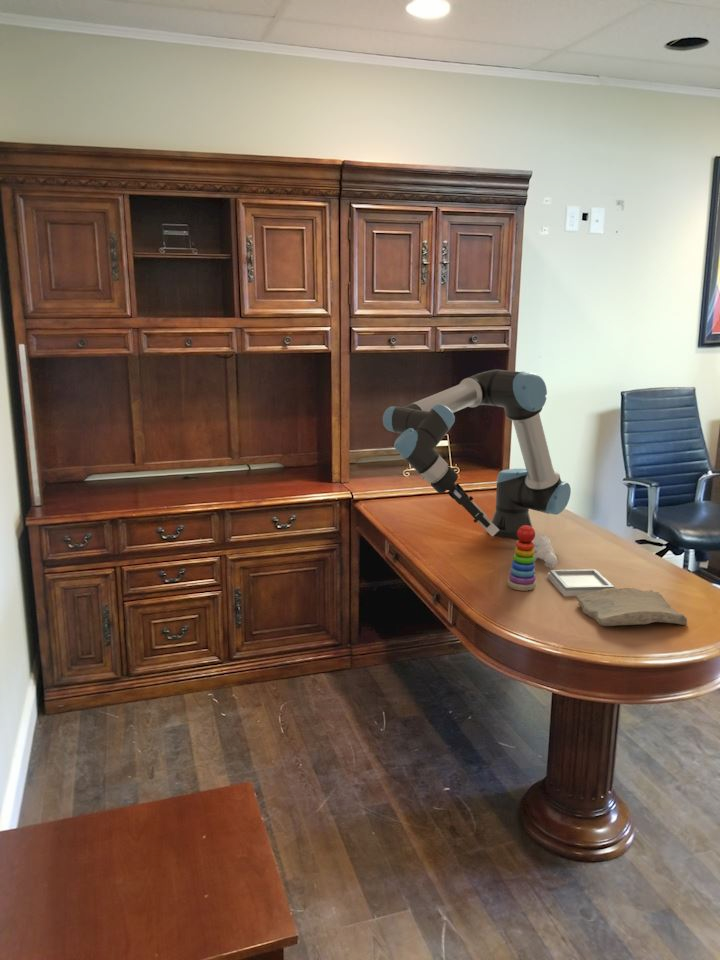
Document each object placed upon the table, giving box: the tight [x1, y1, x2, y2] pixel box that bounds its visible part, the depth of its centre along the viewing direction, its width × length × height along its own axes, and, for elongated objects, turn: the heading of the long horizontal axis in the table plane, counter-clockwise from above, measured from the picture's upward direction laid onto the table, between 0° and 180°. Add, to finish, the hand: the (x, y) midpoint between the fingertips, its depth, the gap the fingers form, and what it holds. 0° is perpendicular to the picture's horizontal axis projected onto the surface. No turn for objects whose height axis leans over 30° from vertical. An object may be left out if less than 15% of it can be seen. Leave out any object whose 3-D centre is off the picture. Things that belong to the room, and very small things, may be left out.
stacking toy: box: [507, 525, 537, 592], centre depth 214 cm, size 8×8×19 cm
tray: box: [547, 568, 615, 597], centre depth 216 cm, size 15×15×2 cm
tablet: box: [576, 587, 688, 627], centre depth 195 cm, size 24×8×20 cm
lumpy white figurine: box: [531, 533, 558, 569], centre depth 234 cm, size 6×8×12 cm
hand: (489, 525), depth 211 cm, fingers open, 13 cm apart
